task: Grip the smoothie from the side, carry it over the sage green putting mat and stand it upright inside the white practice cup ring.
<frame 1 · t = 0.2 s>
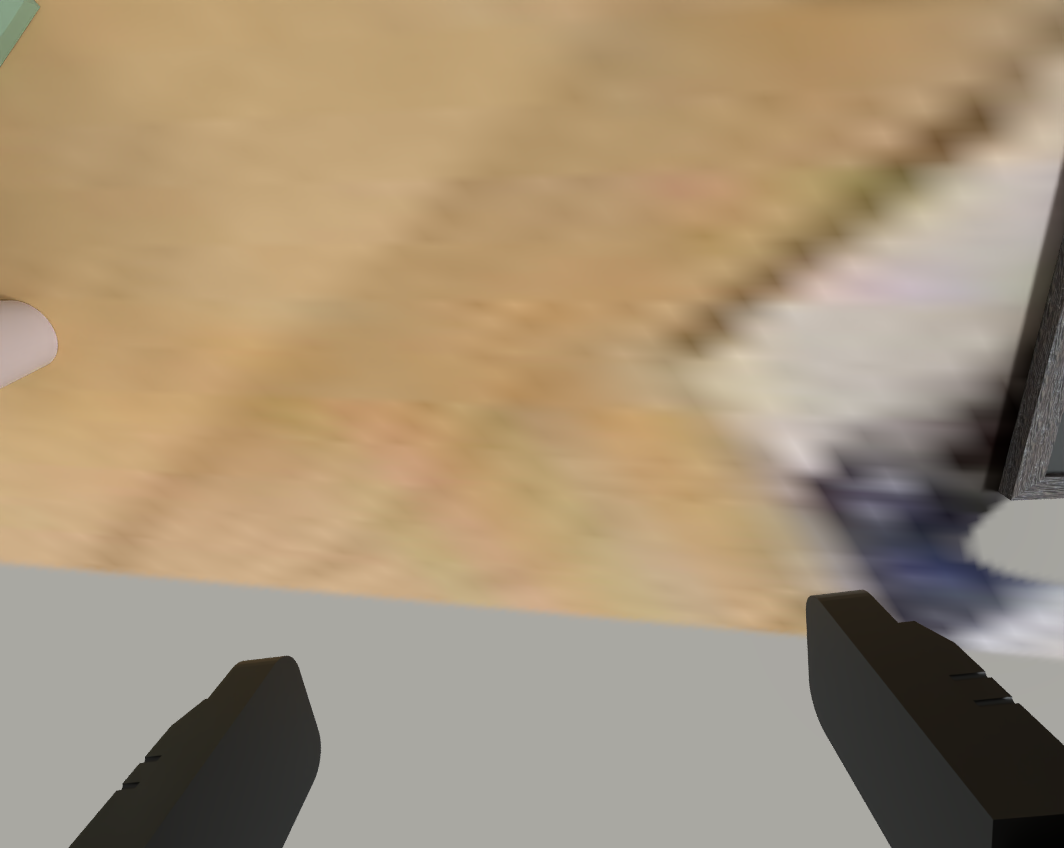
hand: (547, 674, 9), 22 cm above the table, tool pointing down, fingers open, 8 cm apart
smoothie: (26, 333, 31), on the table
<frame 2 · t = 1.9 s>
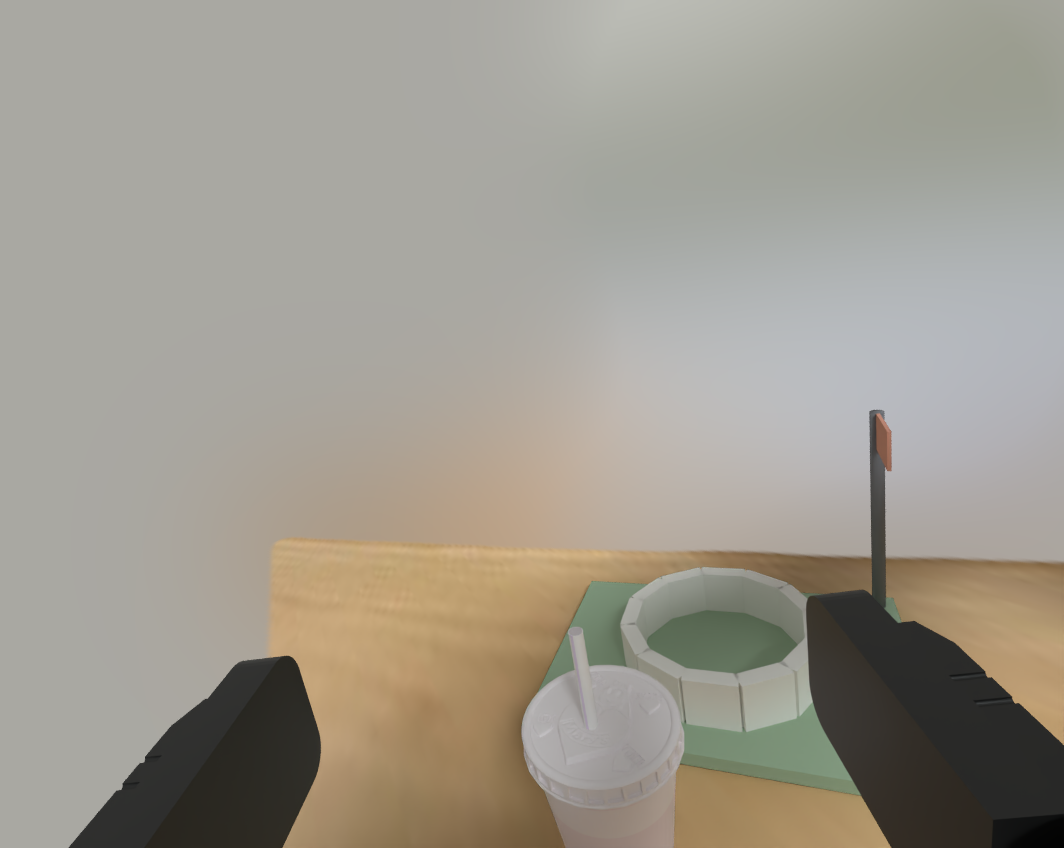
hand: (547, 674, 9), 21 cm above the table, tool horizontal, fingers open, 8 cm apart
practice green: (721, 667, 37), on the table
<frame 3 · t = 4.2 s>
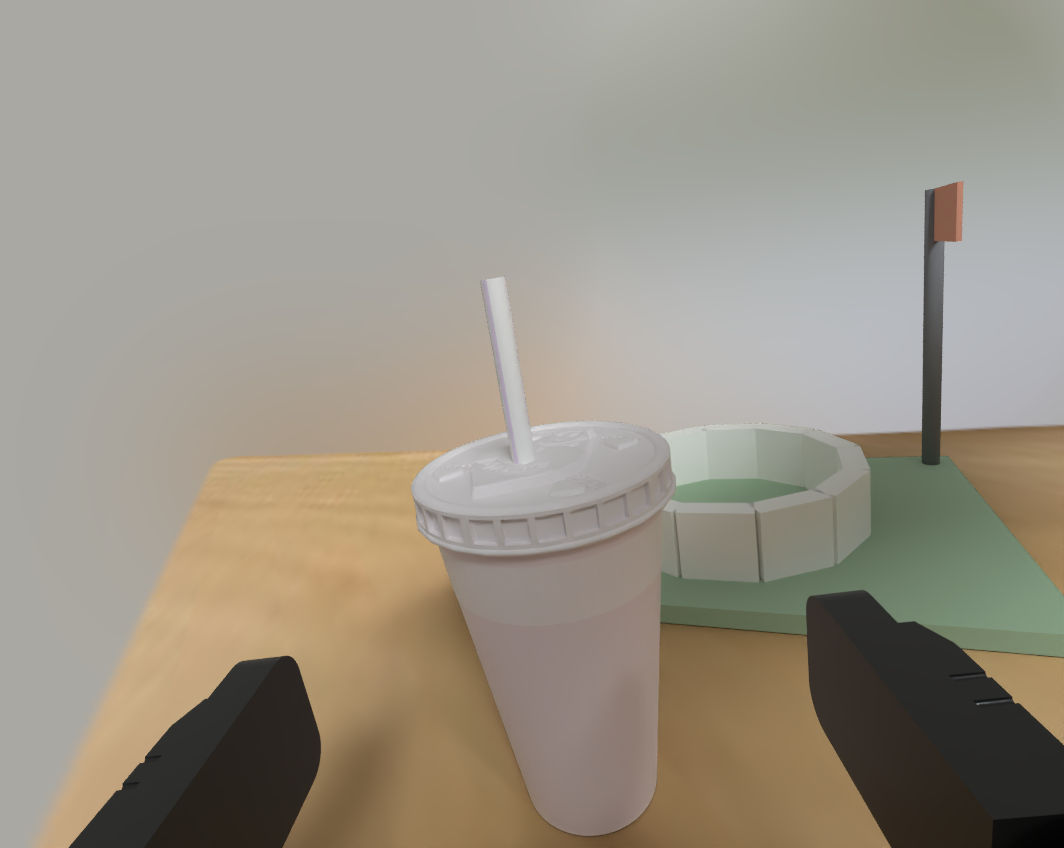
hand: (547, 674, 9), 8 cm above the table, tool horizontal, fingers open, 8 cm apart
smoothie: (592, 779, 16), on the table
practice green: (729, 530, 29), on the table
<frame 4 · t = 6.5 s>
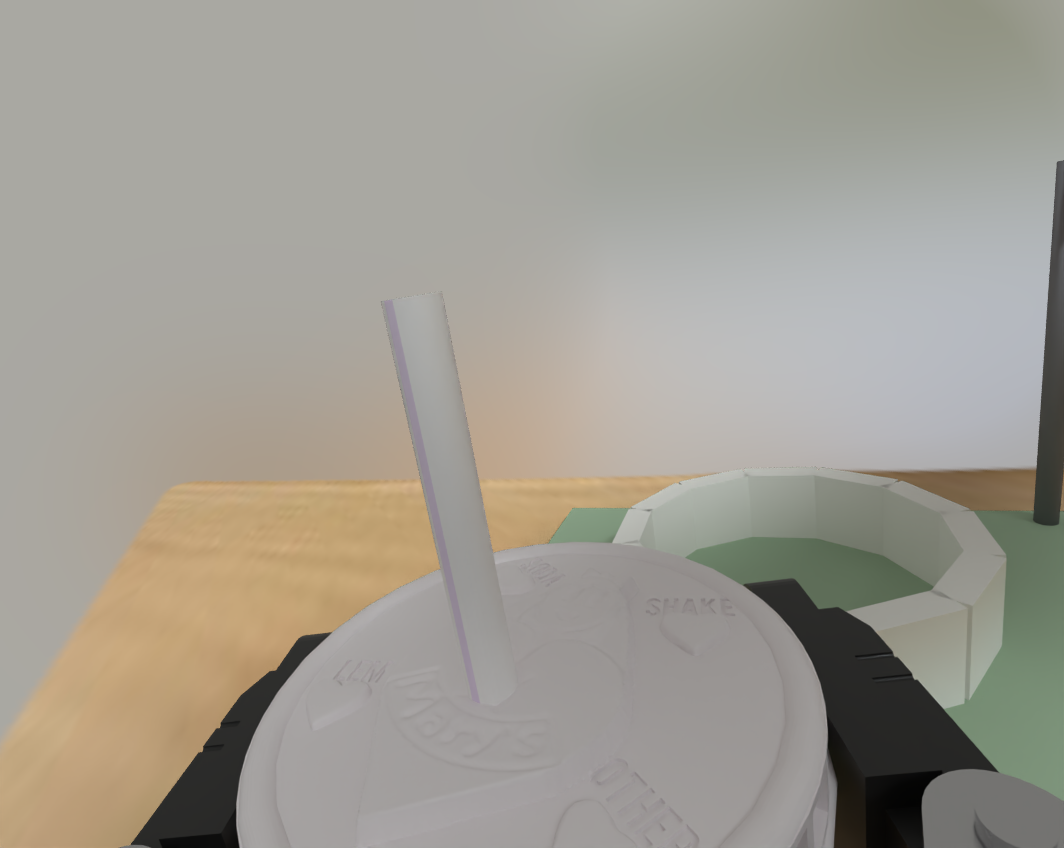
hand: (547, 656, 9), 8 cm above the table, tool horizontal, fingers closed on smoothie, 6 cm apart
practice green: (788, 619, 22), on the table
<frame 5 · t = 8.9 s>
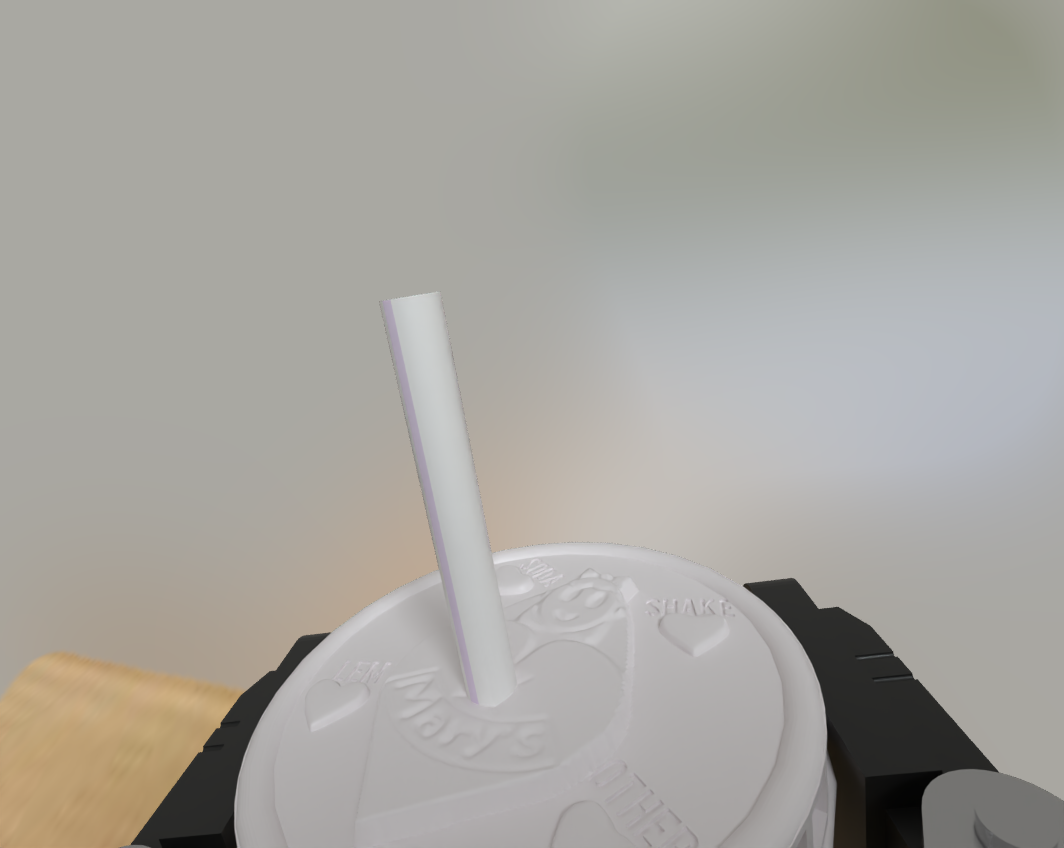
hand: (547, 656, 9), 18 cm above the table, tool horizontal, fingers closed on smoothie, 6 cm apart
when the fingers open (10 cm above the table, at t = 11.5 s): smoothie drops 1 cm, resting on practice green.
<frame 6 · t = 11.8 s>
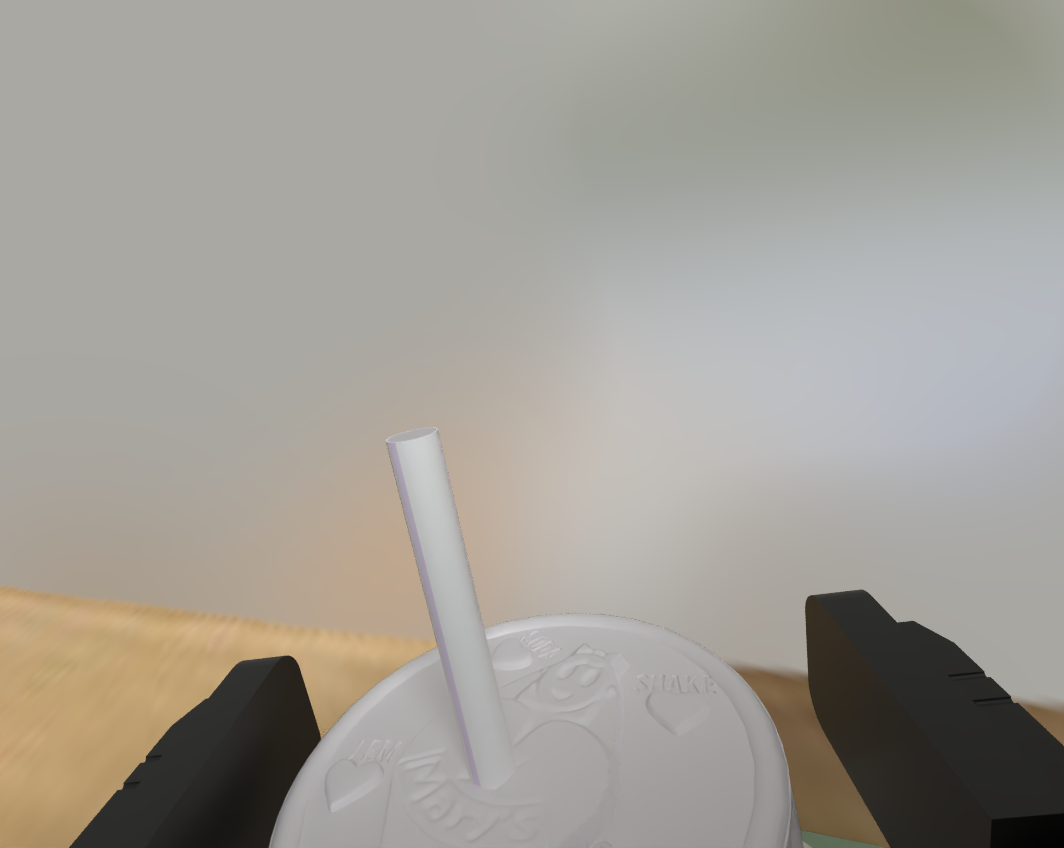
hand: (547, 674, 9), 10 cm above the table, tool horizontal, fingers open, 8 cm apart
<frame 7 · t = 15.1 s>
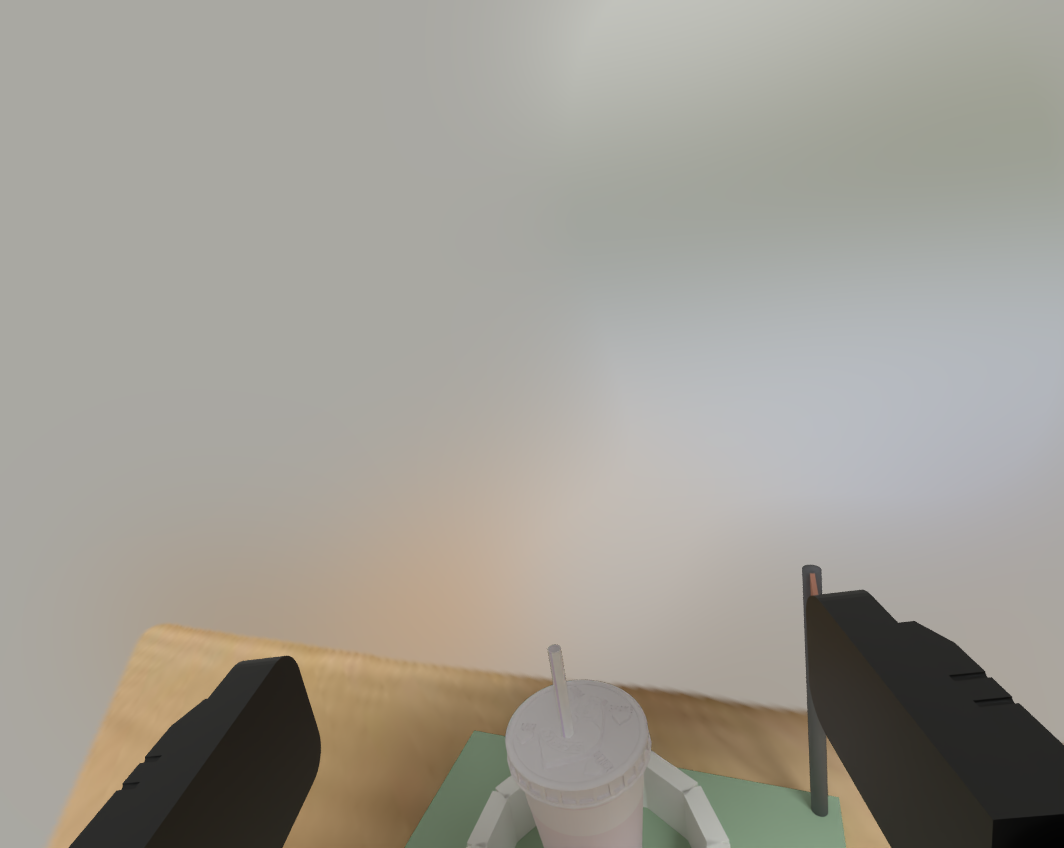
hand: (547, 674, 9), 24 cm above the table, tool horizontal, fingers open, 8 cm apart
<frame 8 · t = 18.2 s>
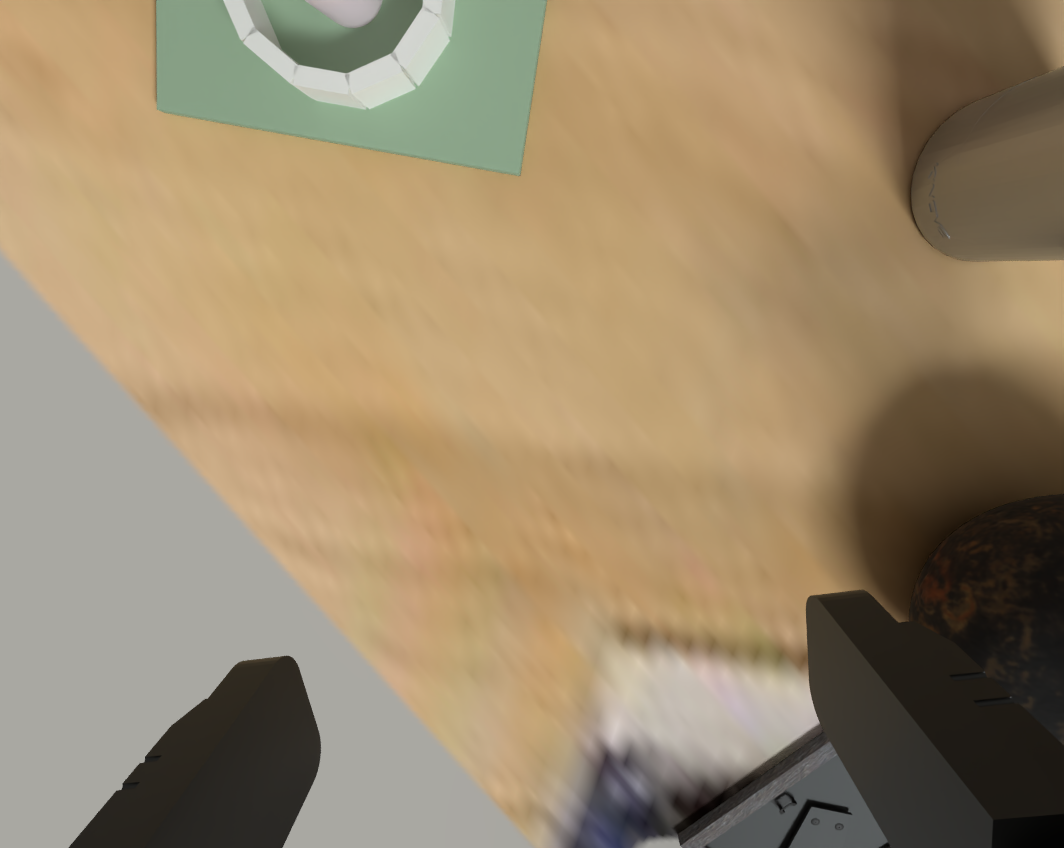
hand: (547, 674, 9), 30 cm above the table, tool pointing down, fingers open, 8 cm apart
picture frame: (810, 813, 48), on the table
glass bottle: (996, 578, 41), on the table
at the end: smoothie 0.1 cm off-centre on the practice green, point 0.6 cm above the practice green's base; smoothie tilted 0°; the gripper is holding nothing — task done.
